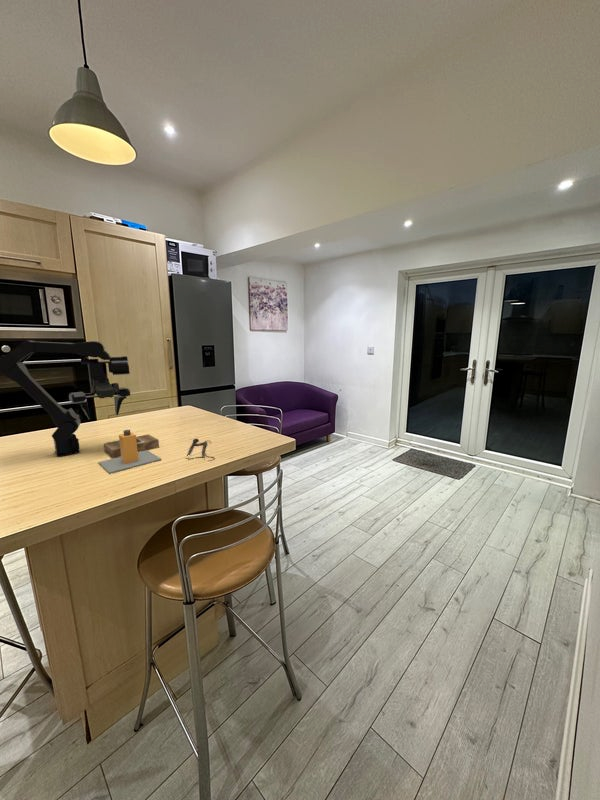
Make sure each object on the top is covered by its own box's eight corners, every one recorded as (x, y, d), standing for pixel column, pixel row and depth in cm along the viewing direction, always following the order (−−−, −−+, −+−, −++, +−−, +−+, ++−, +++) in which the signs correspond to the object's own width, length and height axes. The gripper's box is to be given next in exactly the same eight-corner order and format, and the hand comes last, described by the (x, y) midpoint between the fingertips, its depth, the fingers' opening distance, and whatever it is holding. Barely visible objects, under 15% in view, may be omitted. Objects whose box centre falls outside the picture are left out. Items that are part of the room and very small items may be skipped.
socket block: (113, 458, 112) (112, 449, 111) (104, 451, 119) (103, 442, 118) (159, 447, 123) (158, 438, 123) (148, 441, 130) (148, 433, 130)
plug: (125, 463, 106) (122, 433, 104) (121, 460, 109) (118, 430, 107) (138, 460, 109) (135, 430, 107) (134, 457, 111) (131, 428, 109)
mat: (109, 474, 99) (109, 472, 99) (98, 463, 107) (98, 462, 107) (161, 460, 110) (161, 458, 110) (147, 451, 118) (147, 450, 118)
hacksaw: (193, 441, 131) (193, 437, 131) (219, 440, 133) (219, 436, 133) (182, 463, 108) (182, 459, 108) (214, 461, 110) (214, 457, 109)
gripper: (73, 380, 106) (79, 425, 109) (133, 375, 119) (137, 416, 122) (65, 377, 113) (72, 420, 116) (123, 373, 127) (127, 411, 129)
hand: (103, 417), depth 121 cm, fingers open, 9 cm apart
